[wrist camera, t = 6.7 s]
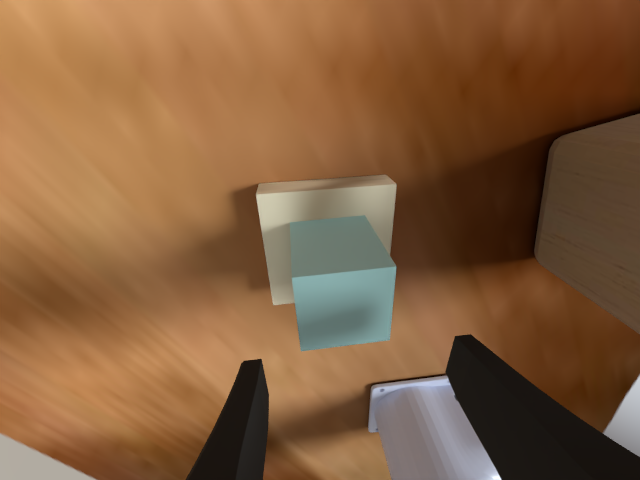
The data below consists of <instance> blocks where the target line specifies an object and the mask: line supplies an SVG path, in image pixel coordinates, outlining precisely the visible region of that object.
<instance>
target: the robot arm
mask: <svg viewBox="0 0 640 480" xmlns="http://www.w3.org/2000/svg"><path fill="white" fill-rule="evenodd" d="M446 374H447V375H446V376H439V377H431V378H423V379H415V380H407V381H400V382H392V383H384V384H376V385H373V386H372V387H371V395H370V408H369V421H368V429H369V432H379V435H380V438H381V442H382V446H383V450H384V453H385V457H386V461H387V464H388V468H389V472H390V475H391V479H392V480H640V457H639V456H637V455H635V454H634V453H632V452H630V451H629V450H627V449H626V448H624V447H622V446H621V445H619V444H618V443H616V442H614V441H613V440H612V439H610V438H609V437H607V436H605V435H604V434H602V433H601V432H599V431H598V430H596V429H595V428H593V427H592V426H590V425H589V424H587V423H586V422H584V421H583V420H581V419H580V418H578V417H577V416H576V415H574V414H573V413H571V412H570V411H569V410H567V409H566V408H564V407H563V406H562V405H560V404H559V403H557V402H556V401H555V400H553V399H552V398H551V397H549V396H548V395H547V394H545V393H544V392H543V391H541V390H540V389H539V388H537V387H536V386H535V385H533V384H532V383H531V382H529V381H528V380H527V379H526V378H524V377H523V376H522V375H520V374H519V373H518V372H517V371H515V370H514V369H513V368H512V367H510V366H509V365H508V364H507V363H505V362H504V361H503V360H502V359H500V358H499V357H498V356H497V355H496V354H494V353H493V352H492V351H491V350H489V349H488V348H487V347H486V346H485V345H483V344H482V343H481V342H480V341H478V340H477V339H476V338H475V337H473V336H472V335H471V334H470V335H461V336H455V338H454V342H453V346H452V350H451V353H450V357H449V361H448V364H447V368H446ZM268 414H269V393H268V388H267V384H266V379H265V374H264V369H263V364H262V359H257V360H248V361H244V362H243V363H241V366H240V369H239V372H238V374H237V377H236V380H235V382H234V385H233V387H232V389H231V392H230V394H229V396H228V399H227V401H226V403H225V405H224V407H223V409H222V411H221V414H220V416H219V418H218V420H217V422H216V424H215V426H214V428H213V430H212V432H211V434H210V436H209V438H208V440H207V442H206V444H205V445H204V447H203V449H202V451H201V453H200V455H199V457H198V459H197V461H196V462H195V464H194V466H193V468H192V470H191V471H190V473H189V475H188V477H187V478H186V480H263V471H264V462H265V453H266V443H267V434H268Z"/></svg>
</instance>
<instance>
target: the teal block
mask: <svg viewBox="0 0 640 480" xmlns="http://www.w3.org/2000/svg"><path fill="white" fill-rule="evenodd" d="M290 242H291V270H292V284H293V292H294V300H295V308H296V315H297V323H298V331H299V339H300V347H301V351H307V350H315V349H323V348H331V347H339V346H347V345H355V344H363V343H370V342H378V341H386V340H390V330H391V320H392V309H393V298H394V288H395V277H396V267H397V266H396V265H395V263H394V262H393V260H392V258H391V257H390V255H389V254H388V252H387V250H386V249H385V247H384V245H383V244H382V242H381V241H380V239H379V237H378V236H377V234H376V232H375V231H374V229H373V228H372V226H371V224H370V223H369V221H368V220H367V218H366V216H365V215H363V216H352V217H341V218H331V219H320V220H310V221H299V222H290Z"/></svg>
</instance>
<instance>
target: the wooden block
mask: <svg viewBox="0 0 640 480" xmlns="http://www.w3.org/2000/svg"><path fill="white" fill-rule="evenodd" d="M534 254H535V257H536V259H537V261H538V262H539V264H540V265H542V266H543V267H545V268H546V269H547V270H549V271H550V272H552V273H553V274H555V275H556V276H557V277H559V278H560V279H562V280H563V281H565V282H566V283H567V284H569V285H570V286H572V287H573V288H575V289H576V290H577V291H579V292H580V293H582V294H583V295H585V296H586V297H587V298H589V299H590V300H592V301H593V302H595V303H596V304H597V305H599V306H600V307H602V308H603V309H605V310H606V311H607V312H609V313H610V314H612V315H613V316H615V317H616V318H617V319H619V320H620V321H622V322H623V323H625V324H626V325H627V326H629V327H630V328H632V329H633V330H635V331H636V332H637V333H639V334H640V114H636V115H633V116H629V117H626V118H622V119H619V120H615V121H612V122H608V123H604V124H601V125H597V126H594V127H590V128H587V129H583V130H580V131H576V132H572V133H569V134H566V135H562V136H561V137H559V138H557V139H556V140H554V142H553V144H552V146H551V148H550V149H549V155H548V162H547V168H546V175H545V182H544V188H543V195H542V201H541V208H540V215H539V221H538V228H537V235H536V241H535V248H534Z"/></svg>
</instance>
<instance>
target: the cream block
mask: <svg viewBox="0 0 640 480" xmlns="http://www.w3.org/2000/svg"><path fill="white" fill-rule="evenodd" d="M396 187H397V184H396V183H395V182H394V181H393V180H392V179H390V178H389V177H388V176H387V175H373V176H359V177H345V178H330V179H316V180H302V181H288V182H274V183H260V184H259V185H258V188H257V192H256V199H257V205H258V211H259V218H260V224H261V230H262V237H263V243H264V250H265V256H266V262H267V269H268V275H269V281H270V288H271V294H272V301H273V305H280V304H289V303H295V300H294V292H293V284H292V270H291V242H290V222H299V221H310V220H320V219H331V218H341V217H352V216H363V215H365V216H366V218H367V220H368V221H369V223H370V224H371V226H372V228H373V229H374V231H375V232H376V234H377V236H378V237H379V239H380V241H381V242H382V244H383V245H384V247H385V249H386V250H387V252H388V254H389V255H390V251H391V240H392V230H393V219H394V209H395V198H396Z"/></svg>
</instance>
